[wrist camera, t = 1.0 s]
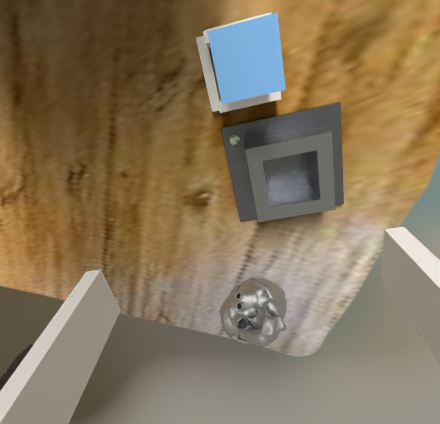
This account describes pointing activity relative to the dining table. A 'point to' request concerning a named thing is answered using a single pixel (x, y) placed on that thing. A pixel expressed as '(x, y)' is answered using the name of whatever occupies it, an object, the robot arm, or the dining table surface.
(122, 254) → the dining table surface
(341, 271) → the dining table surface
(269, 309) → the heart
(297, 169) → the port panel
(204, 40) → the holster
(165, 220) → the dining table surface
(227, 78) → the plug
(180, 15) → the dining table surface
